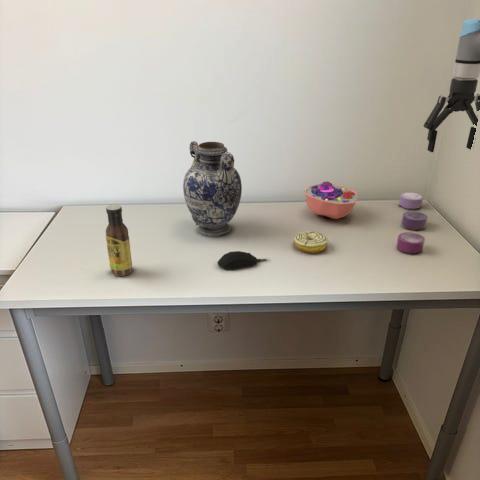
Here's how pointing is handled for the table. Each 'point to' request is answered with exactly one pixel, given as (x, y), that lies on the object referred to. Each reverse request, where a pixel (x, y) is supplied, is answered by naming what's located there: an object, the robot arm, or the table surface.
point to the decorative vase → (212, 188)
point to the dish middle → (414, 220)
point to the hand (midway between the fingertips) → (449, 149)
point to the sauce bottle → (118, 242)
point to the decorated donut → (310, 242)
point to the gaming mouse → (237, 260)
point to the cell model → (330, 200)
